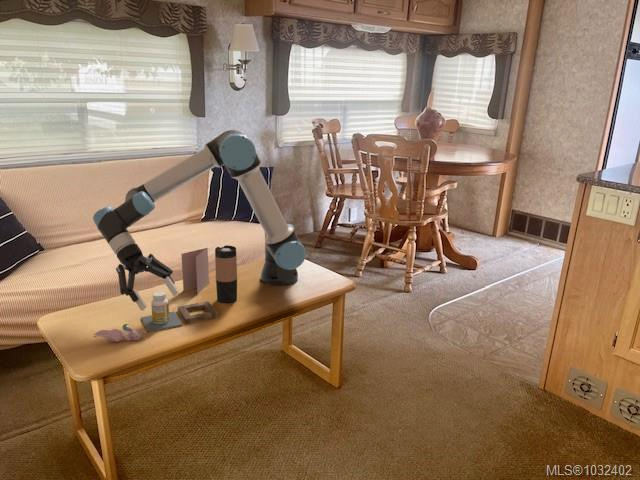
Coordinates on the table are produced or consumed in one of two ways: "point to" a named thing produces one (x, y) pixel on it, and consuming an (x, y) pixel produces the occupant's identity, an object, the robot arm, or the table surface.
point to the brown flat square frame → (198, 317)
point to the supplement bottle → (160, 308)
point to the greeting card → (195, 269)
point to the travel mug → (226, 274)
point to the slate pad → (153, 326)
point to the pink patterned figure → (120, 334)
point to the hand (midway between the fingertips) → (161, 301)
